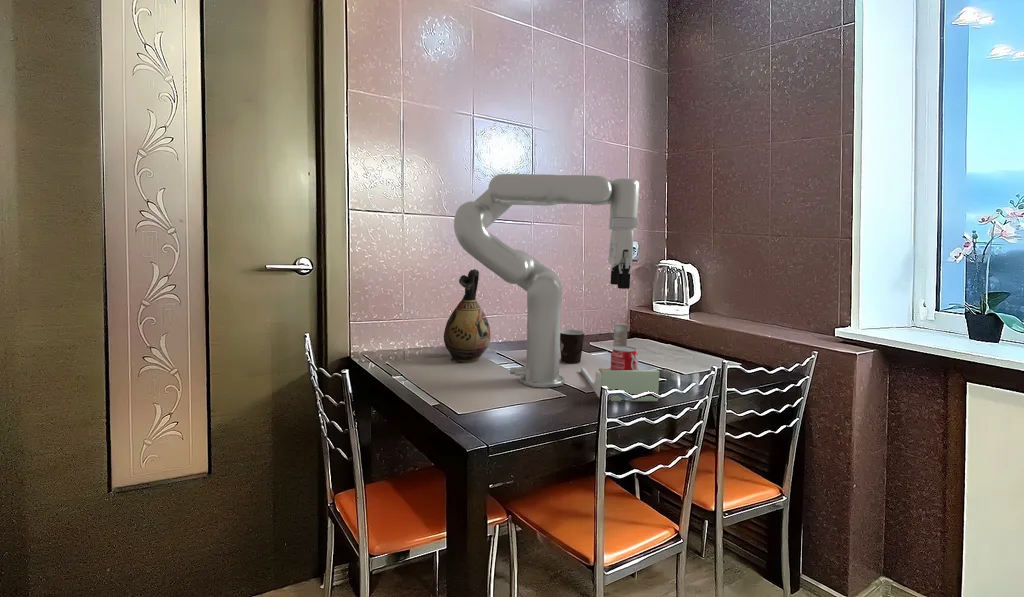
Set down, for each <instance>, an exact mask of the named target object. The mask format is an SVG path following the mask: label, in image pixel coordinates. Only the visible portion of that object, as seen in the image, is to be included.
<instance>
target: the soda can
mask: <svg viewBox="0 0 1024 597" xmlns="http://www.w3.org/2000/svg"><path fill="white" fill-rule="evenodd" d="M638 364H639V353H638V352H637V348H636V347H633V346H629V345H627V346H616V347H613V346H612V352H611V354H610V368H611V370H639V368H638V367H639V366H638Z"/></svg>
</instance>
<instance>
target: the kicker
mask: <svg viewBox="0 0 1024 597" xmlns="http://www.w3.org/2000/svg"><path fill="white" fill-rule="evenodd" d="M628 326H629V325H628V324H627V323H626V322H614V324H613V344H612V345H613V346H612V348H613V347H616V346H628ZM602 370H611V367H610V368H608V367H607V368H605V367H604V368H598V371H600V372H601V373H602Z"/></svg>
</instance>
